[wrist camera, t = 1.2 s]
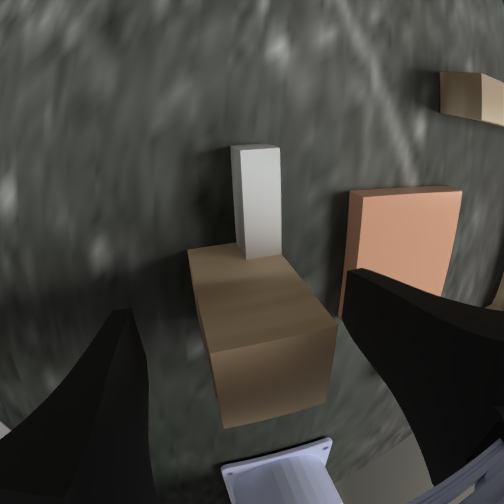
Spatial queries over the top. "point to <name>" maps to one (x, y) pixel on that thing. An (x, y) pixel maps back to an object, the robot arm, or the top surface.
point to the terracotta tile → (402, 234)
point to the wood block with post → (260, 306)
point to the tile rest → (474, 114)
